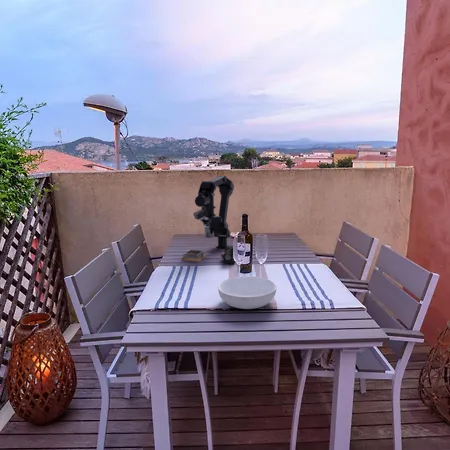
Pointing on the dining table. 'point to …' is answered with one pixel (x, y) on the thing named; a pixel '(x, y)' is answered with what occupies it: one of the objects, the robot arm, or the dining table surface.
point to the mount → (193, 255)
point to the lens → (208, 231)
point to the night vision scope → (228, 255)
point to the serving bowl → (247, 291)
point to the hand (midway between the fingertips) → (209, 233)
